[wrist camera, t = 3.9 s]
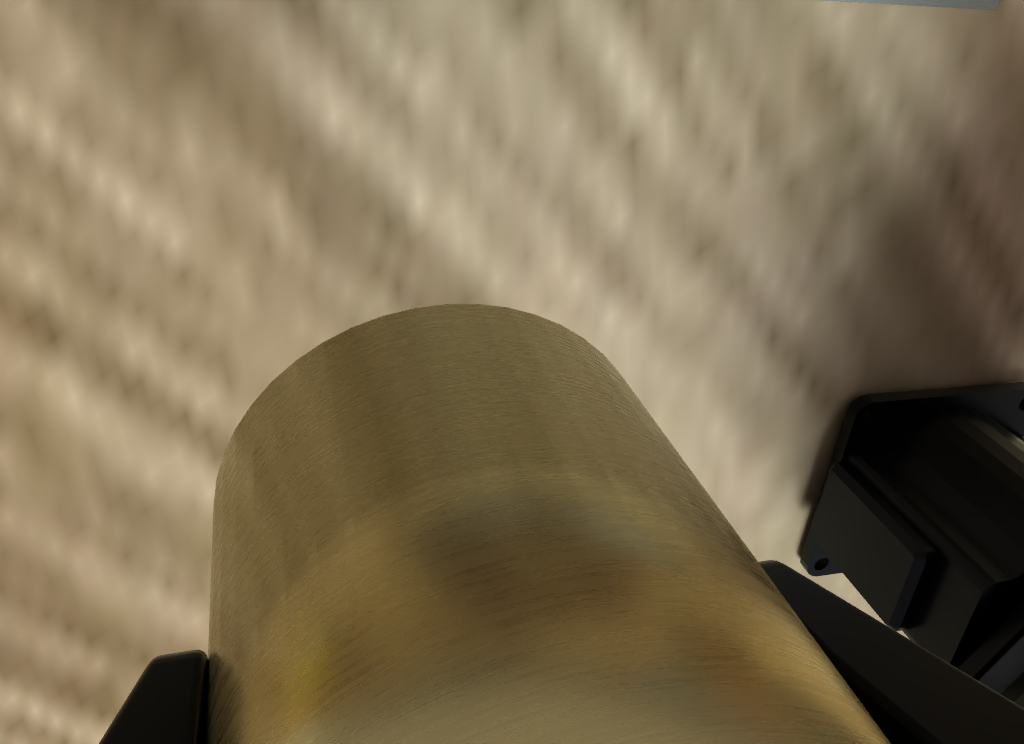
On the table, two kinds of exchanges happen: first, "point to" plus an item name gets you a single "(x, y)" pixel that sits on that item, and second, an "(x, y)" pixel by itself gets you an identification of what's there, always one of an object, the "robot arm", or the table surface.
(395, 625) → the cylinder
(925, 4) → the jig
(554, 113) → the table surface
